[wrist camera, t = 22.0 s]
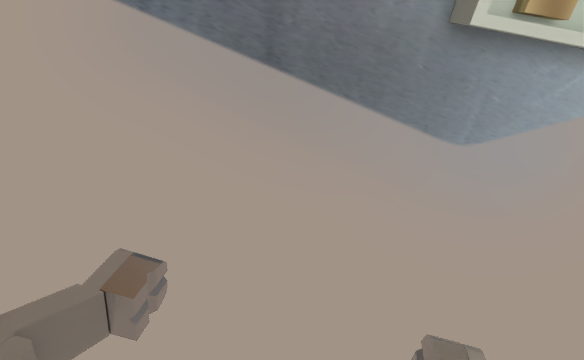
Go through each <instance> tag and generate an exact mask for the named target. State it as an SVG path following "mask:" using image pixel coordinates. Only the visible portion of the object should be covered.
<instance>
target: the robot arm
mask: <svg viewBox="0 0 584 360" xmlns="http://www.w3.org/2000/svg"><path fill="white" fill-rule="evenodd" d="M166 271H167V263H166V262H164V261H161V260H158V259H155V258H151V257H148V256H145V255H142V254H138V253H135V252H131V251H128V250H124V249H118V250H116V251H115V252H114V253H113V254H112V255H111V256H110V257H109V258H108V259H107V260H106V261H105V262H104V263H103V264H102V265H101V266H100V267H99V268H98V269H97V270H96V271H95V272H94V273H93V274H92V275H91V276H90V277H89V278H88V279H87V280H86V282H84V283H83V284H82V285H79V284H76V285H73V286H71V287H68V288H66V289H64V290H61V291H58V292H56V293H53V294H51V295H48V296H46V297H43V298H41V299H39V300H36V301H34V302H31V303H29V304H26V305H24V306H21V307H19V308H16V309H14V310H11V311H9V312H7V313H4V314H1V315H0V360H71V359H73V358H75V357H76V356H78V355H79V354H81V353H82V352H84V351H86V350H87V349H89V348H90V347H92V346H93V345H95V344H97V343H98V342H100V341H101V340H103V339H104V338H106V337H108V336H109V334H113V335H117V336H120V337H124V338H128V339H132V340H135V341H137V340H138V338H139V337H140V335H141V334H142V332H143V331H144V329H145V328H146V326H147V325H148V323H149V314H151V313H153V312H155V311H156V310H157V309H158V308H159V306H160V305H161V303H162V301H163V299H164V296H165V294H166V290H167V280H166V278H165V277H164V274H165V273H166ZM421 343H422V349H420V350H417V351H416V352H415V354H414V356H413V357H412V360H486V359H485V356H484V353H483V352H482V350H481V349H479V348H475V347H472V346H468V345H464V344H461V343H458V342H454V341H450V340H447V339H443V338H439V337H435V336H432V335H426V336H425V337H424V338H423V340H422V341H421Z"/></svg>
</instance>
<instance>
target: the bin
mask: <svg viewBox="0 0 584 360" xmlns="http://www.w3.org/2000/svg"><path fill="white" fill-rule="evenodd" d="M516 1H517V0H456V3H455V5H454V8H453V11H452V14H451V17H450V19H449V22H451V23H456V24H461V25H466V26H471V27H476V28H481V29H486V30H492V31H497V32H502V33H507V34H512V35H517V36H522V37H527V38H532V39H537V40H542V41H547V42H552V43H557V44H562V45H567V46H572V47H577V48H582V49H584V0H578V2H577V4H576V6H575V8H574V10H573V12H572V14H571V16H570V18H569V20H550V19H545V18H540V17H534V16H529V15H524V14H518V13H513V12H512V10H513V8H514V6H515V3H516Z"/></svg>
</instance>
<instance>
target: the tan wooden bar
mask: <svg viewBox="0 0 584 360" xmlns="http://www.w3.org/2000/svg"><path fill="white" fill-rule="evenodd" d="M577 2H578V0H517V1H516V3H515V6H514V8H513V10H512V12H513V13H518V14H524V15H529V16H534V17H540V18H545V19H550V20H569V18H570V16H571V14H572V12H573V10H574V8H575V6H576V4H577Z"/></svg>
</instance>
